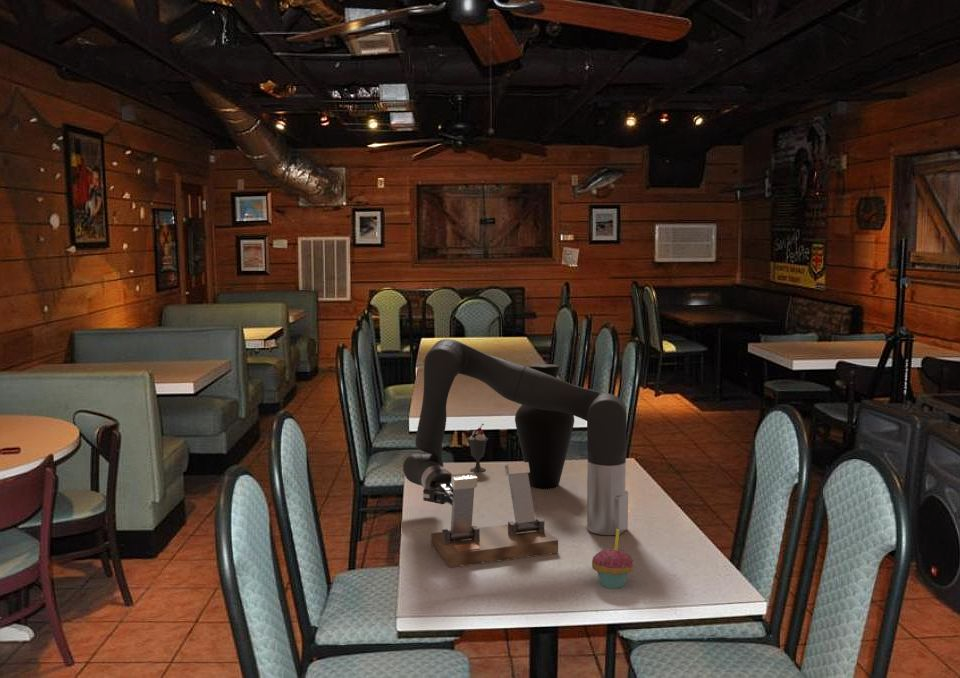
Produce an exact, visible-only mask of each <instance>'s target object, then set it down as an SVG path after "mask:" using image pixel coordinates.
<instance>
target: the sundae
mask: <svg viewBox="0 0 960 678" xmlns="http://www.w3.org/2000/svg"><path fill="white" fill-rule="evenodd" d="M484 425H485V424H484V423H481V425H480V427H478V428H476V429H475V430H470V431H469V432H470V433H469V437H467V438H466V439H467V441H468V442H469V447H470V449H469V450H470V455H471V456H472V458H473V459H475V466H474V467H472V468H470V469H469V471H470V470H471V472H472V471H474V472H473V473H483V472H486V471H487V469H486V468H485V467H482V466H481V463H480V462H481V460H482V458H483V457H484V456H485V452H486V446H487V445H486V444H487V441H488V440H489V439H490V438H489V437H487V436H486V435H485V434H484V431H483V430H482V427H483V426H484Z"/></svg>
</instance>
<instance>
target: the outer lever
mask: <svg viewBox="0 0 960 678" xmlns="http://www.w3.org/2000/svg"><path fill="white" fill-rule="evenodd" d="M451 485H452V487H453V500H452V505H451V518H450V519H451V520H450V530H448V531H449V532H450V541H457V540H465V539H472V538H473V530H472V526H473V512H474V497H475V488H477V486H478V476H477V475H476V474H475V472H469V473H466V472H465V473H459V474H452V479H451Z"/></svg>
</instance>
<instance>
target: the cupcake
mask: <svg viewBox="0 0 960 678" xmlns="http://www.w3.org/2000/svg"><path fill="white" fill-rule="evenodd" d="M614 539H615V540H614V541H615V542H614V548H613V549H612V548H611V549H610V548H604V549H602V550H600V551H599V552H597V553H595V554H594V555H593V557H592V561H591V568H592V570H594V571H596V573H597V575H598V579H599V583H600V584H601V585H602V586H603V587H604V588H608V589H618V588H619V589H620V588H622V587H623V586H624V585H625V583H626V579H627V577H628V574H630V573H631V572H632V571H633V568H634V564H633V563H634V559H632V556H631V555H630V554H628V553H627V552H626V551H623V550H621V549H619V539H620V535H619V525H618V529H616V535H615V538H614Z"/></svg>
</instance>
